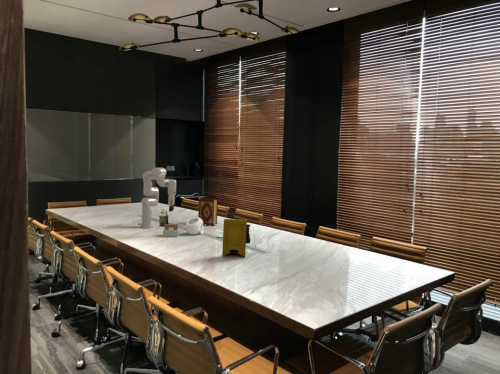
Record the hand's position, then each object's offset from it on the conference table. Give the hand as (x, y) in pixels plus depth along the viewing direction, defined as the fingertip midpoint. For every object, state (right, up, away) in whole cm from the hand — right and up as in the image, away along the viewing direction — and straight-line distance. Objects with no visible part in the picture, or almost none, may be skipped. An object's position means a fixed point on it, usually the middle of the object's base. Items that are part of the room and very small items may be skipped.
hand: (171, 210), depth 368 cm
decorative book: (+26, -20, +71) cm, 78 cm away
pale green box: (-1, -24, +2) cm, 24 cm away
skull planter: (+20, -24, +16) cm, 36 cm away
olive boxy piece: (+63, -32, -59) cm, 92 cm away
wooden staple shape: (0, -18, 0) cm, 18 cm away
